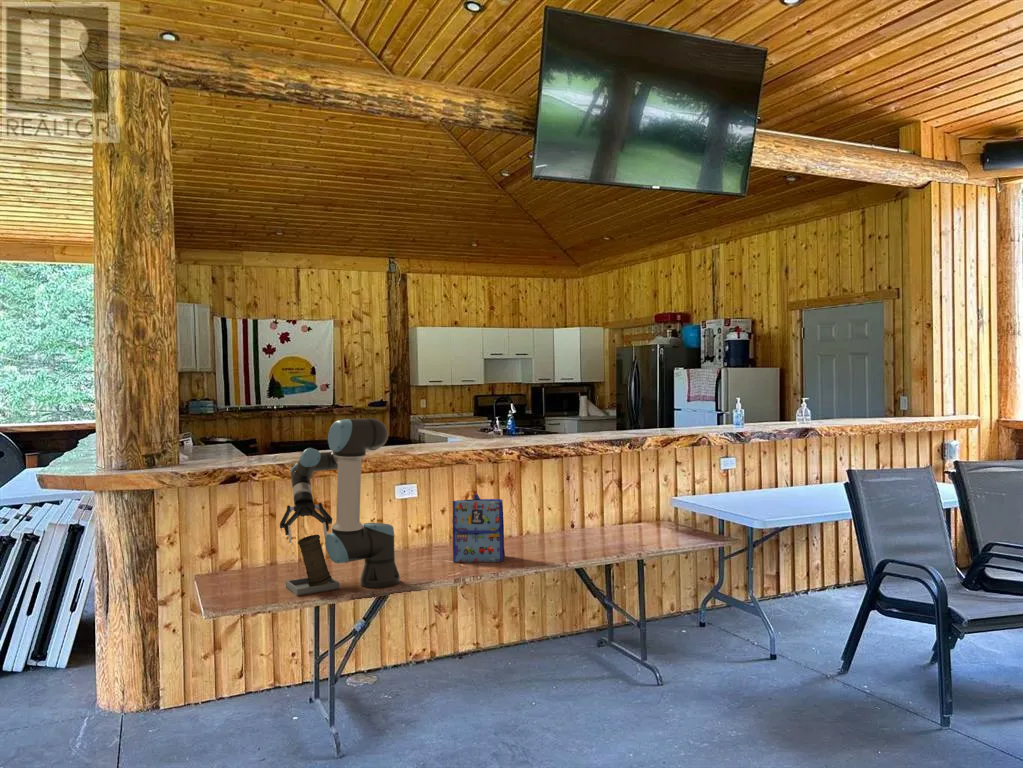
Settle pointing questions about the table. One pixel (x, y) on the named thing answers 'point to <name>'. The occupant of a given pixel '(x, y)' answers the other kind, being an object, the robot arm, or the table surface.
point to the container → (314, 560)
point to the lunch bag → (478, 530)
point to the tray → (303, 588)
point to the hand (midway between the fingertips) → (308, 539)
